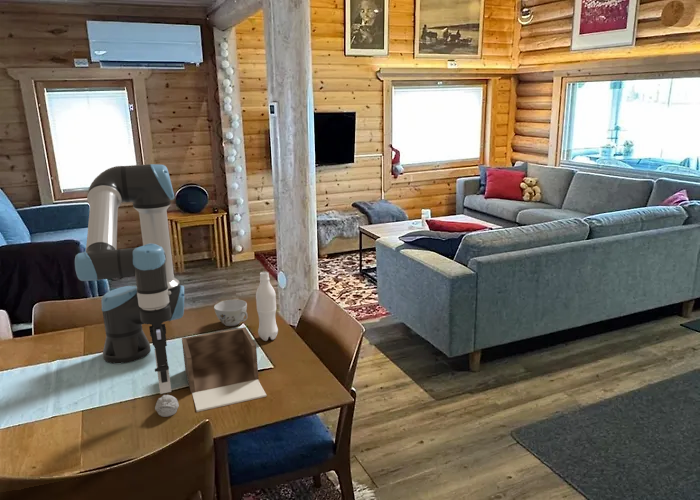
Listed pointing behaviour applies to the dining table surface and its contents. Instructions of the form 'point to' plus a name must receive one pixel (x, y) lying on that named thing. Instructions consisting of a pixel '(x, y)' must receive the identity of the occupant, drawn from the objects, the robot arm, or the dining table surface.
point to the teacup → (231, 311)
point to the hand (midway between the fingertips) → (163, 380)
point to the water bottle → (266, 308)
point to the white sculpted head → (166, 405)
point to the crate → (219, 359)
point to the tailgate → (228, 395)
